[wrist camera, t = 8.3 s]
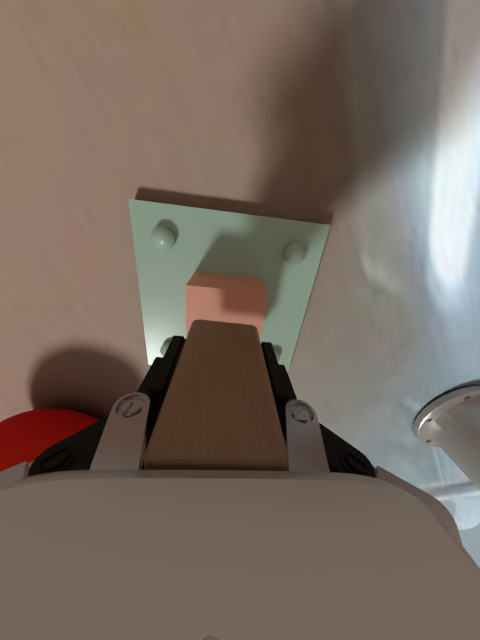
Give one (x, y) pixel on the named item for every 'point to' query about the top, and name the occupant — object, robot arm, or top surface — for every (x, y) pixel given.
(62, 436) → the tomato
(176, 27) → the top surface
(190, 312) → the brick
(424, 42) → the top surface
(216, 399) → the wooden block
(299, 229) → the baseplate
